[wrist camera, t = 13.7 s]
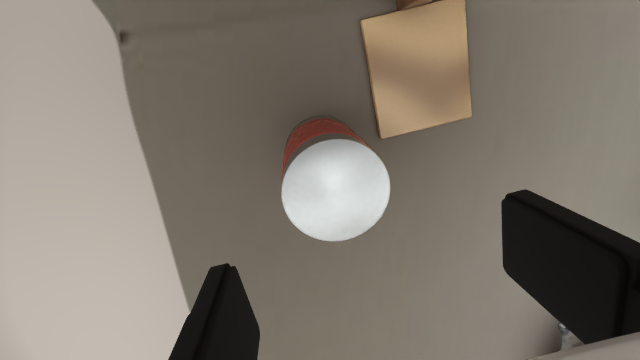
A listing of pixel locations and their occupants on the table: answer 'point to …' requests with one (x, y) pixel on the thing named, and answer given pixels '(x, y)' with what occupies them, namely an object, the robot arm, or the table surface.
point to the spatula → (418, 65)
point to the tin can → (332, 181)
